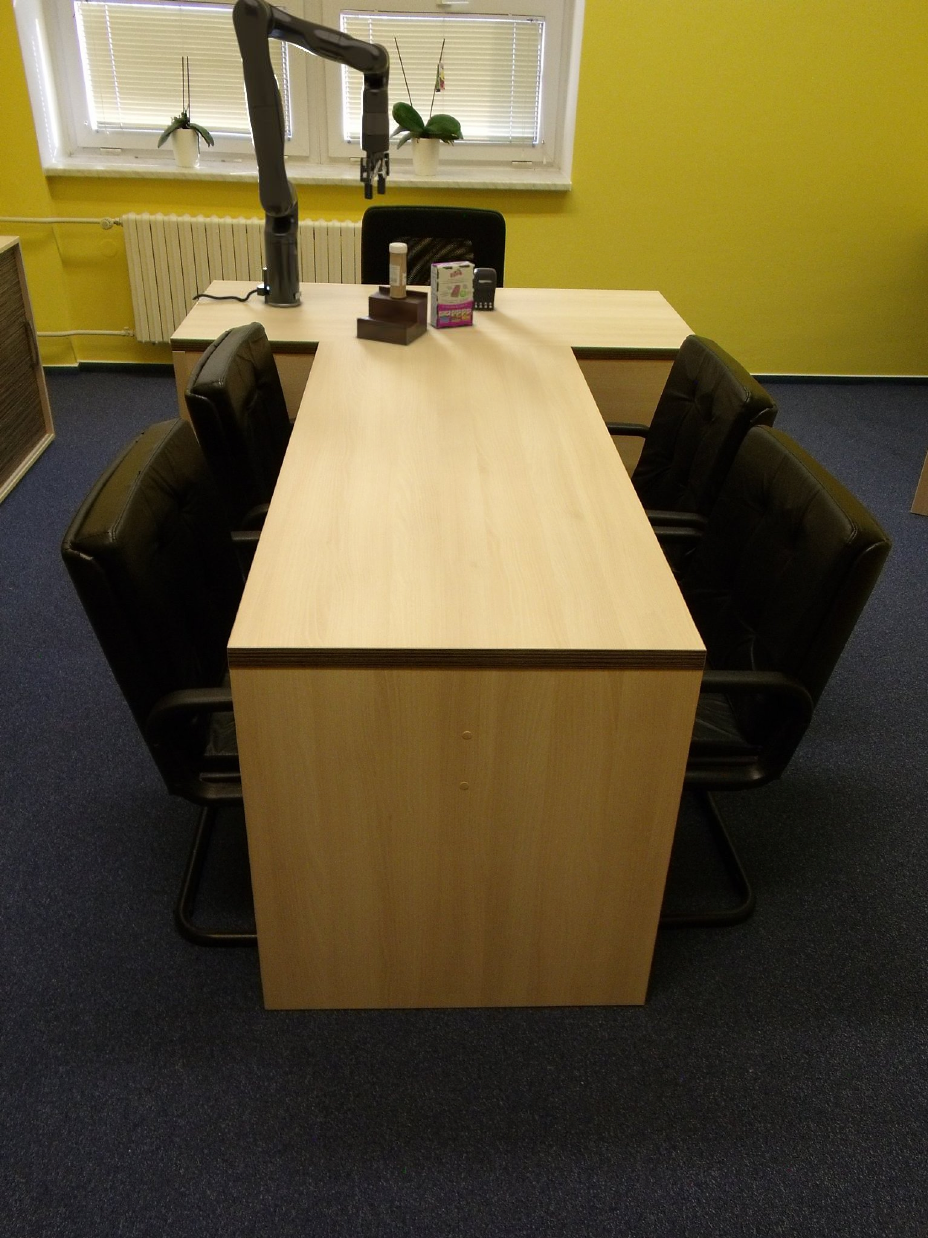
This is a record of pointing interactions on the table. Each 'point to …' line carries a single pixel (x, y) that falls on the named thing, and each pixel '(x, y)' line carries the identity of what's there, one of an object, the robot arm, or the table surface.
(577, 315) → the table surface
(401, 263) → the sprinkles bottle
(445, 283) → the candy bar box
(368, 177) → the robot arm
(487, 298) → the black battery charger
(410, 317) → the shelf
